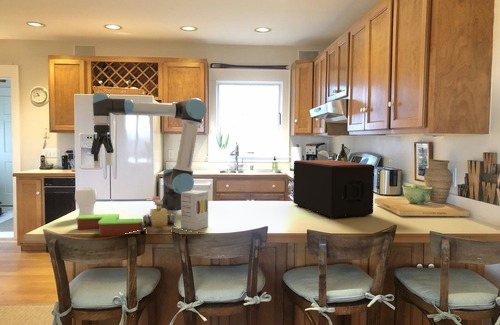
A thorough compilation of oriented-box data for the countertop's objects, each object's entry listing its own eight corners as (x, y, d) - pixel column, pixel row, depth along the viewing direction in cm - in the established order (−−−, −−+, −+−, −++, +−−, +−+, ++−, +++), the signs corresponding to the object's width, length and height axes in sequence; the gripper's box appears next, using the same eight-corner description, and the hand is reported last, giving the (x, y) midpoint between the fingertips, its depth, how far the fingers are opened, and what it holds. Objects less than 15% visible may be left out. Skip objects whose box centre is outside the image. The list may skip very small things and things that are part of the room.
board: (171, 222, 181) (170, 219, 181) (177, 231, 163) (177, 228, 163) (141, 224, 177) (141, 221, 176) (145, 234, 158) (145, 231, 158)
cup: (89, 220, 185) (88, 190, 184) (70, 219, 187) (70, 190, 186) (101, 215, 195) (101, 188, 194) (84, 215, 197) (83, 187, 196)
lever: (163, 205, 168) (163, 201, 168) (155, 205, 167) (155, 201, 166) (159, 199, 181) (159, 196, 181) (152, 200, 180) (151, 196, 180)
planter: (67, 237, 153) (67, 224, 153) (80, 227, 171) (79, 215, 171) (141, 235, 158) (141, 221, 158) (146, 225, 176) (145, 213, 176)
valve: (173, 222, 175) (172, 202, 174) (175, 225, 169) (174, 204, 169) (142, 225, 170) (142, 204, 169) (143, 228, 164) (143, 206, 164)
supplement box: (195, 230, 165) (195, 193, 164) (180, 227, 170) (180, 192, 169) (208, 226, 173) (208, 191, 172) (193, 223, 178) (193, 189, 177)
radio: (374, 216, 196) (376, 164, 194) (331, 220, 187) (333, 165, 185) (329, 202, 238) (330, 159, 236) (292, 205, 229) (293, 160, 227)
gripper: (105, 125, 197) (107, 164, 199) (81, 124, 172) (83, 168, 174) (119, 125, 197) (120, 164, 198) (97, 123, 172) (99, 168, 173)
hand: (103, 166), depth 186 cm, fingers open, 13 cm apart
